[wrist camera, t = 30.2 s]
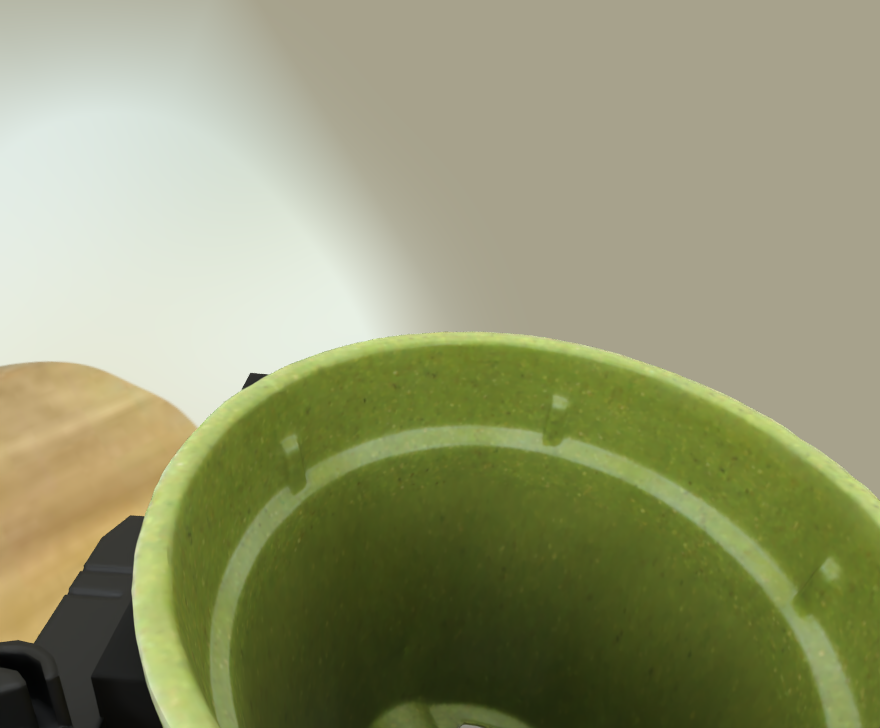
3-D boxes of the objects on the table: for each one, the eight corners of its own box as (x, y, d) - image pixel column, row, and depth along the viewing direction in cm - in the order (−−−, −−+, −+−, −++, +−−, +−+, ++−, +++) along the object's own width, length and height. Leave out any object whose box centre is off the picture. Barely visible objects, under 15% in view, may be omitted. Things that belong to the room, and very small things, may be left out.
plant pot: (699, 707, 15) (843, 392, 11) (795, 1468, 7) (1438, 1324, 3) (325, 605, 17) (334, 294, 13) (55, 1145, 9) (-160, 759, 5)
